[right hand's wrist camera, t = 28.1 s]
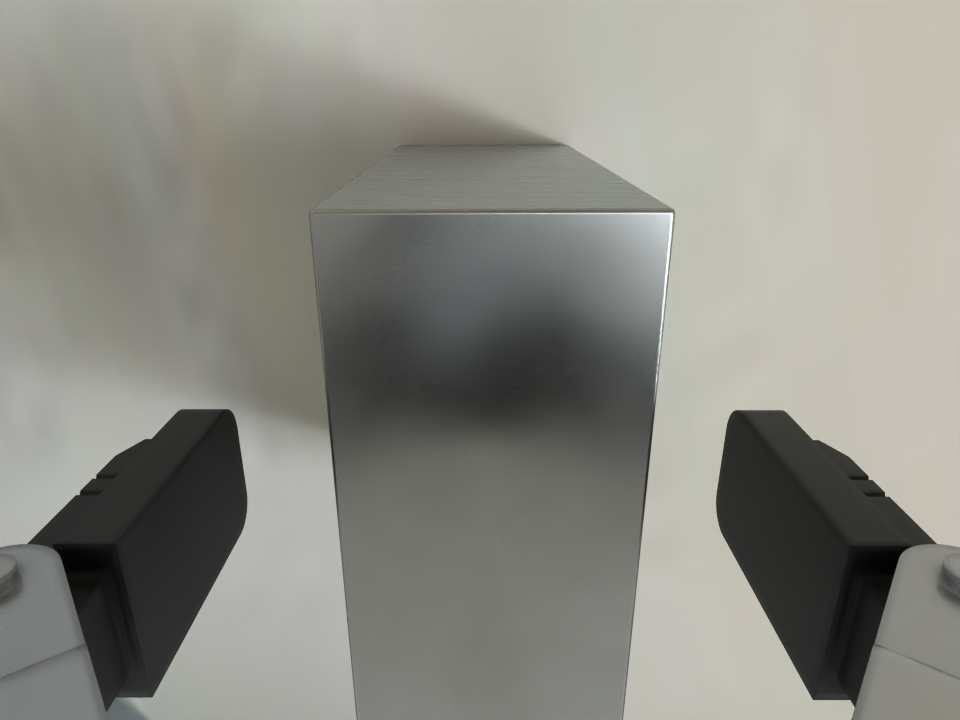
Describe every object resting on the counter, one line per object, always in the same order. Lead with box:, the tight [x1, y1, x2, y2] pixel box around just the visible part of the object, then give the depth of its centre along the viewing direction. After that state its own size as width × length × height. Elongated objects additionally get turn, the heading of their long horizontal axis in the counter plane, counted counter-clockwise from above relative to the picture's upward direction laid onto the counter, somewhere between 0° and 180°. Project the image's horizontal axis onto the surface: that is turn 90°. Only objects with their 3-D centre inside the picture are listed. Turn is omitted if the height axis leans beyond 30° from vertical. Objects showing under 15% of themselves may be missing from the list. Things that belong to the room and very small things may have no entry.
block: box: [309, 145, 675, 720], centre depth 14 cm, size 4×9×10 cm, turn 0°
